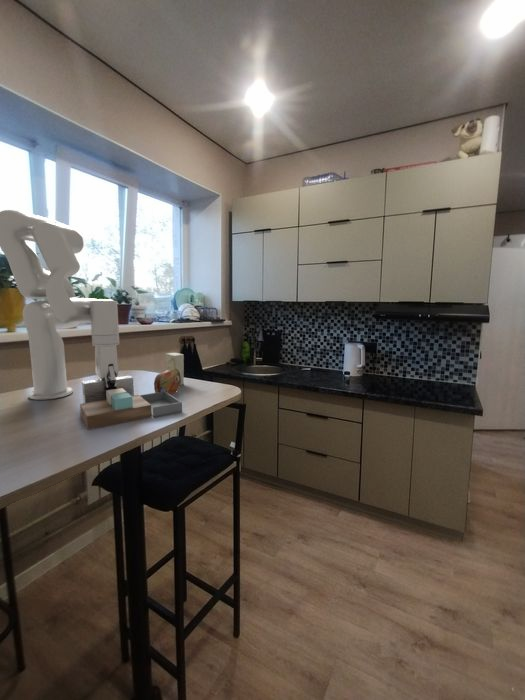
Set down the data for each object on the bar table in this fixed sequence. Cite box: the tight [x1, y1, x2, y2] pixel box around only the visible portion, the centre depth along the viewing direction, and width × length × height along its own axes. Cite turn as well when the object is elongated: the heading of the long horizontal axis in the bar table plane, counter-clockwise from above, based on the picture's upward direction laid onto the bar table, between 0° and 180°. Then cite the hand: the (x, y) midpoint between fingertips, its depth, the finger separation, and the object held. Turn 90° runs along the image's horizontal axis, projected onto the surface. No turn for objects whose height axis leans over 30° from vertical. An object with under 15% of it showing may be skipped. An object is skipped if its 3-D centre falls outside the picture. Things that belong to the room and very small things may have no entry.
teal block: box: [111, 393, 133, 410], centre depth 89 cm, size 4×4×3 cm
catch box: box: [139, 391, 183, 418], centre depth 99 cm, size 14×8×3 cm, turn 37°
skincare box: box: [165, 352, 185, 386], centre depth 126 cm, size 6×4×12 cm
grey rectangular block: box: [81, 375, 135, 403], centre depth 102 cm, size 4×14×8 cm, turn 127°
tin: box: [153, 369, 181, 396], centre depth 113 cm, size 15×3×8 cm, turn 168°
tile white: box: [106, 388, 127, 404], centre depth 94 cm, size 4×4×3 cm
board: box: [79, 394, 153, 431], centre depth 91 cm, size 12×16×4 cm
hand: (109, 396), depth 102 cm, fingers open, 5 cm apart
